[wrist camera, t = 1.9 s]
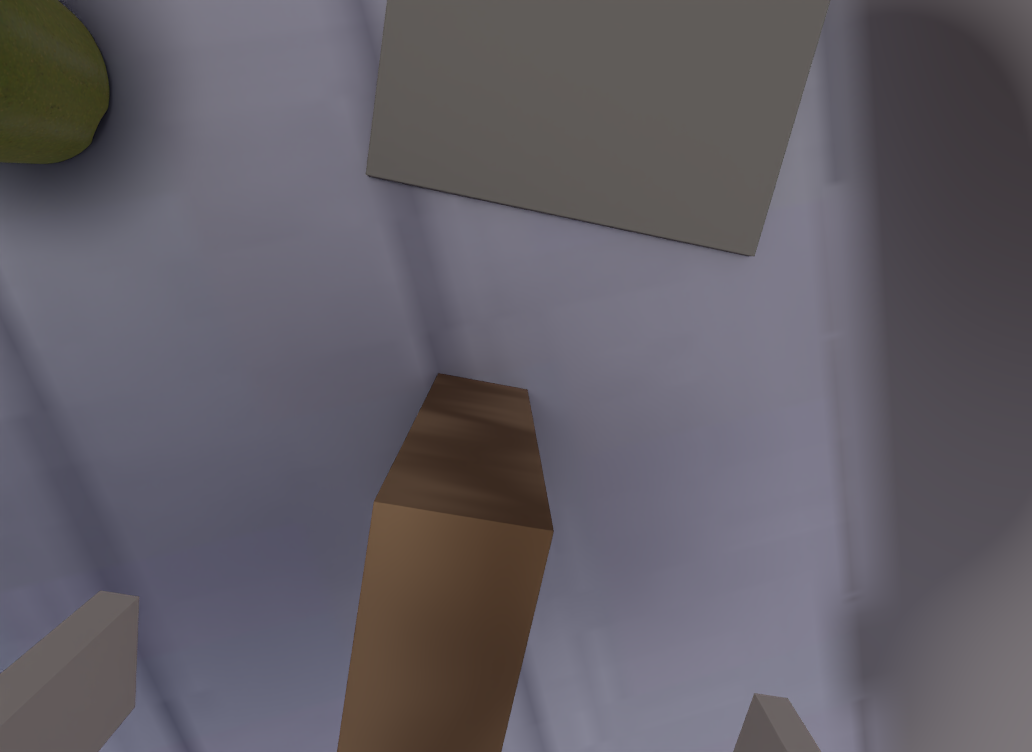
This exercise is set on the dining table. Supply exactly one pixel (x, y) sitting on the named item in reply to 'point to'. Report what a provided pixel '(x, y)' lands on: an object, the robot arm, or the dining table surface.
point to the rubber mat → (598, 108)
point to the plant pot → (47, 83)
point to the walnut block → (450, 577)
